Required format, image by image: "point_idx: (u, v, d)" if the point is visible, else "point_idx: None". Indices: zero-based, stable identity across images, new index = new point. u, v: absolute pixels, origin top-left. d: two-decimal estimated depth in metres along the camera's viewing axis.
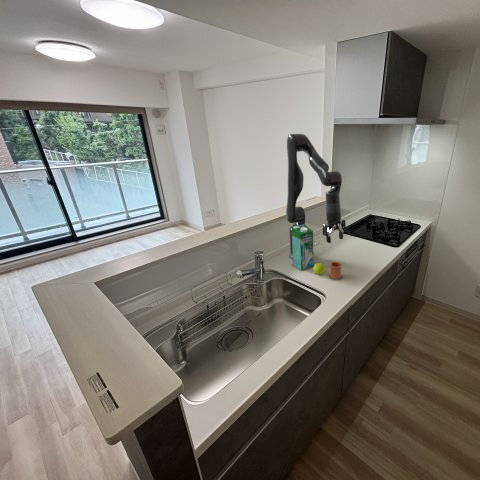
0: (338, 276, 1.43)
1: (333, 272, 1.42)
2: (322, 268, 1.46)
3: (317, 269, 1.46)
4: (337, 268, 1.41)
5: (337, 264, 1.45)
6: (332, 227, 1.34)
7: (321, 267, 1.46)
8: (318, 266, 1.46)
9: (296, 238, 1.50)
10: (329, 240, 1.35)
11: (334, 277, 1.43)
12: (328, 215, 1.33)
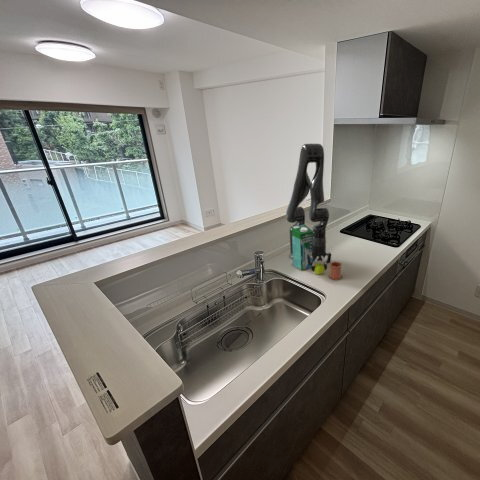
0: (338, 276, 1.43)
1: (333, 272, 1.42)
2: (322, 268, 1.46)
3: (317, 269, 1.46)
4: (337, 268, 1.41)
5: (337, 264, 1.45)
6: (315, 258, 1.44)
7: (321, 267, 1.46)
8: (318, 266, 1.46)
9: (296, 238, 1.50)
10: (313, 269, 1.47)
11: (334, 277, 1.43)
12: (312, 247, 1.43)
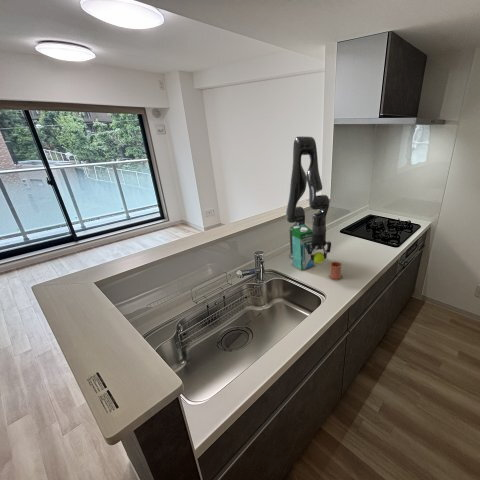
0: (338, 276, 1.43)
1: (333, 272, 1.42)
2: (322, 257, 1.44)
3: (317, 258, 1.43)
4: (337, 268, 1.41)
5: (337, 264, 1.45)
6: (315, 247, 1.42)
7: (321, 256, 1.44)
8: (318, 255, 1.44)
9: (296, 238, 1.50)
10: (312, 258, 1.45)
11: (334, 277, 1.43)
12: (312, 235, 1.40)
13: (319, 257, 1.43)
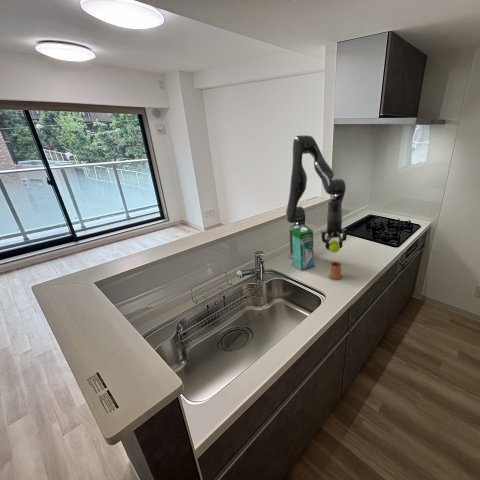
0: (338, 276, 1.43)
1: (333, 272, 1.42)
2: (337, 246, 1.37)
3: (332, 247, 1.37)
4: (337, 268, 1.41)
5: (337, 264, 1.45)
6: (330, 235, 1.35)
7: (336, 245, 1.37)
8: (333, 243, 1.37)
9: (296, 238, 1.50)
10: (327, 247, 1.38)
11: (334, 277, 1.43)
12: (327, 222, 1.33)
13: (335, 245, 1.36)
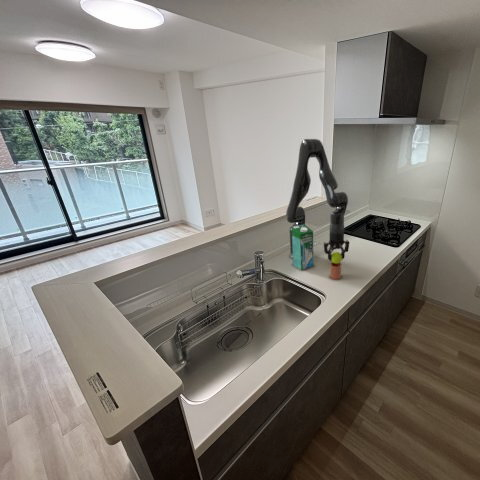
0: (338, 276, 1.43)
1: (333, 272, 1.42)
2: (340, 257, 1.39)
3: (334, 258, 1.38)
4: (337, 268, 1.41)
5: (337, 264, 1.45)
6: (332, 246, 1.37)
7: (339, 256, 1.39)
8: (335, 255, 1.39)
9: (296, 238, 1.50)
10: (329, 258, 1.40)
11: (334, 277, 1.43)
12: (330, 234, 1.35)
13: (337, 257, 1.38)
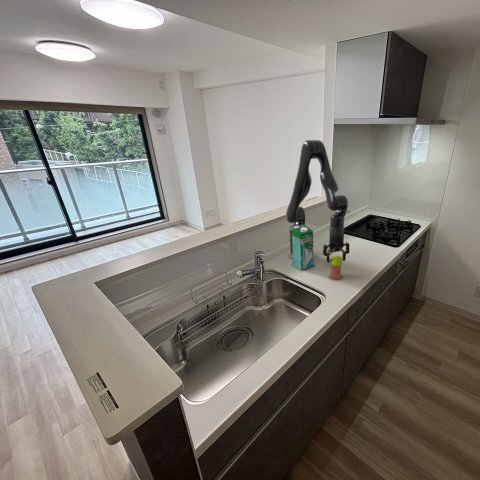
0: (338, 276, 1.43)
1: (333, 272, 1.42)
2: (339, 260, 1.40)
3: (334, 261, 1.39)
4: (337, 268, 1.41)
5: None
6: (332, 249, 1.37)
7: (338, 259, 1.39)
8: (335, 258, 1.39)
9: (296, 238, 1.50)
10: (328, 260, 1.40)
11: (334, 277, 1.43)
12: (330, 237, 1.36)
13: (337, 260, 1.39)
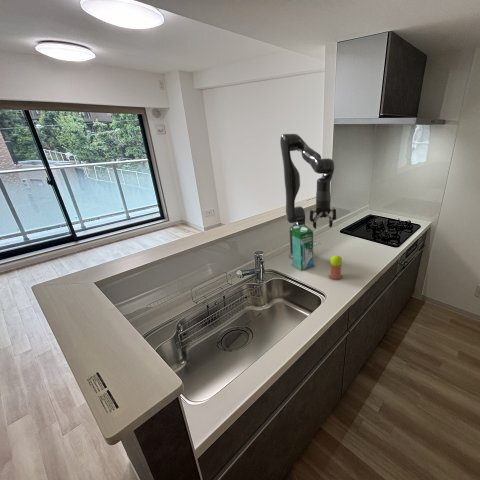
0: (338, 276, 1.43)
1: (333, 272, 1.42)
2: (339, 260, 1.40)
3: (334, 261, 1.39)
4: (337, 268, 1.41)
5: None
6: (318, 214, 1.36)
7: (338, 259, 1.39)
8: (335, 258, 1.39)
9: (296, 238, 1.50)
10: (314, 226, 1.39)
11: (334, 277, 1.43)
12: (316, 202, 1.35)
13: (337, 260, 1.39)
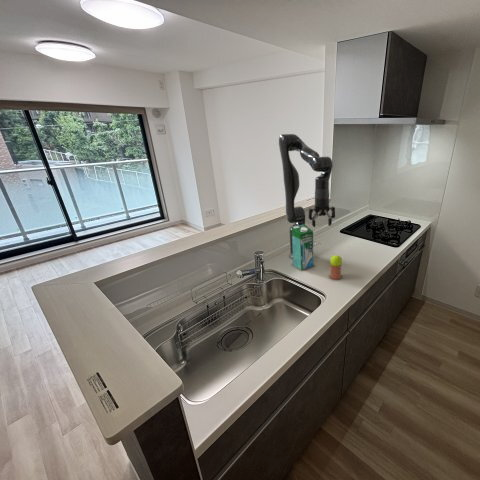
0: (338, 276, 1.43)
1: (333, 272, 1.42)
2: (339, 260, 1.40)
3: (334, 261, 1.39)
4: (337, 268, 1.41)
5: None
6: (317, 212, 1.37)
7: (338, 259, 1.39)
8: (335, 258, 1.39)
9: (296, 238, 1.50)
10: (313, 224, 1.39)
11: (334, 277, 1.43)
12: (315, 200, 1.35)
13: (337, 260, 1.39)
